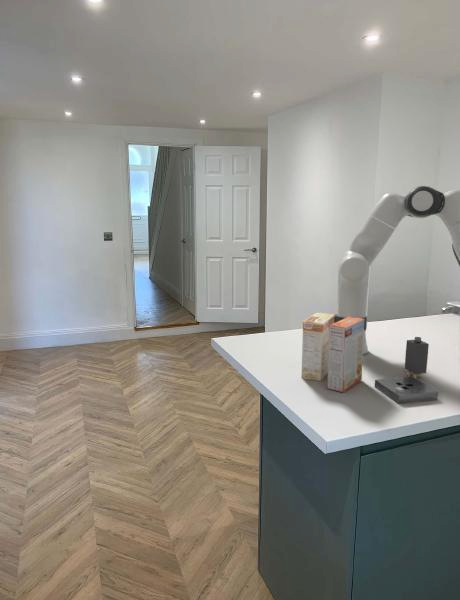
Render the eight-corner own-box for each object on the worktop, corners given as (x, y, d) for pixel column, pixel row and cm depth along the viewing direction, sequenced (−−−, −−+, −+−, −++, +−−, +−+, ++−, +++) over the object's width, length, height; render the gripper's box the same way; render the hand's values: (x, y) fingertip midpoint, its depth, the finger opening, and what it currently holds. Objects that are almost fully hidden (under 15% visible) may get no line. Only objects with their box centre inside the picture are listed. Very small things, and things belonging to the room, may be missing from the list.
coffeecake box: (313, 364, 166) (315, 312, 162) (333, 367, 163) (335, 314, 159) (300, 378, 153) (302, 321, 149) (321, 381, 150) (323, 323, 146)
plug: (404, 374, 156) (407, 335, 154) (415, 373, 157) (418, 335, 155) (414, 379, 151) (417, 340, 148) (425, 378, 152) (429, 339, 149)
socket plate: (374, 387, 145) (375, 377, 144) (410, 383, 148) (411, 373, 147) (398, 403, 132) (399, 393, 132) (437, 399, 135) (438, 389, 135)
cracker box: (345, 376, 154) (348, 315, 150) (362, 380, 151) (366, 318, 147) (325, 388, 144) (328, 323, 140) (343, 393, 140) (346, 327, 136)
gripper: (466, 296, 165) (432, 299, 162) (512, 306, 146) (475, 310, 143) (465, 313, 167) (432, 316, 164) (511, 326, 147) (474, 330, 144)
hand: (452, 313), depth 153 cm, fingers open, 8 cm apart
